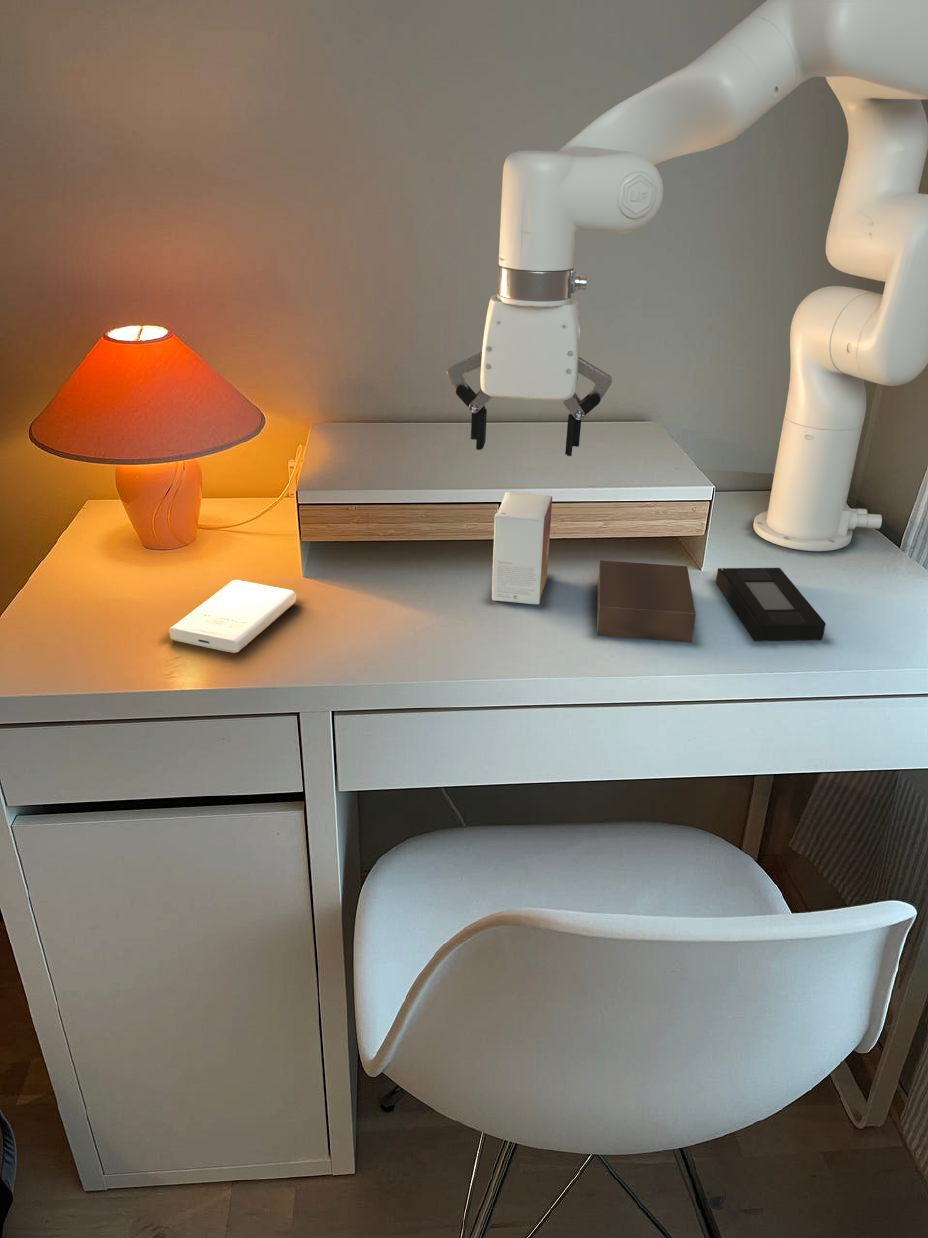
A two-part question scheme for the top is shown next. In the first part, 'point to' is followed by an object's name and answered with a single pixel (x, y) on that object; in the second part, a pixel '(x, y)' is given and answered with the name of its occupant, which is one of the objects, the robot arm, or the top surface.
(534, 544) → the small box
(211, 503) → the top surface
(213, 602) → the hard drive
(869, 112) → the robot arm
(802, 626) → the vhs tape
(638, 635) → the walnut block
